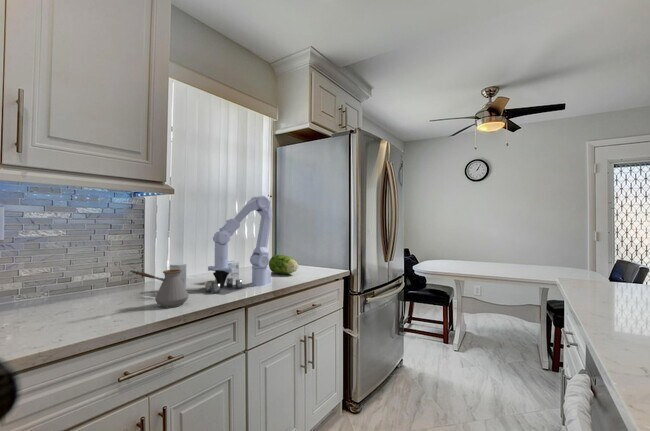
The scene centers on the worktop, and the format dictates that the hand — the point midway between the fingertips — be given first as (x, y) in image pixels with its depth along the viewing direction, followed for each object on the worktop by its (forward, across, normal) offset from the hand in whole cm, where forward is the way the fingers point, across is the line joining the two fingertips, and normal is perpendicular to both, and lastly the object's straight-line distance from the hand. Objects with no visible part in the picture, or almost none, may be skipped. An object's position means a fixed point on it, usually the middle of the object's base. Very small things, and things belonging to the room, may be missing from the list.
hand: (221, 287), depth 143 cm
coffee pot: (+2, +1, -31) cm, 31 cm away
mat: (+2, 0, 0) cm, 2 cm away
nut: (+1, -7, 0) cm, 7 cm away
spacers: (+1, 0, 0) cm, 1 cm away
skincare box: (+2, -18, -8) cm, 20 cm away
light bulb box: (+2, -12, +16) cm, 20 cm away
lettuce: (+2, 0, +51) cm, 51 cm away
